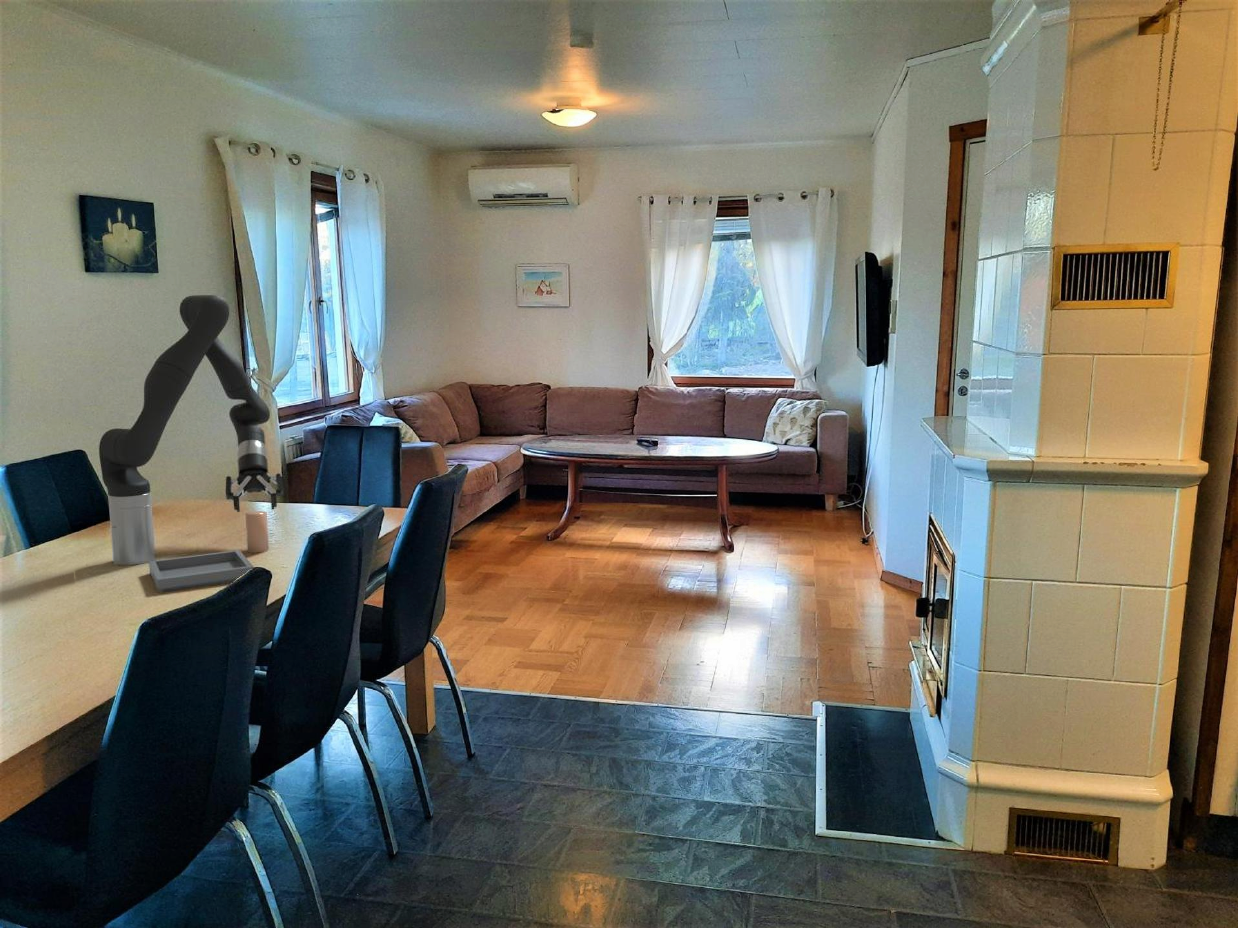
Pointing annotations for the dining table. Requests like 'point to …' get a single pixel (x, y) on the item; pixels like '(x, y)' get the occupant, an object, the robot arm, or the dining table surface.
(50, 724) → the dining table surface
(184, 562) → the charcoal tray
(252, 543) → the terracotta canister
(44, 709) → the dining table surface
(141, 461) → the robot arm
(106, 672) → the dining table surface
